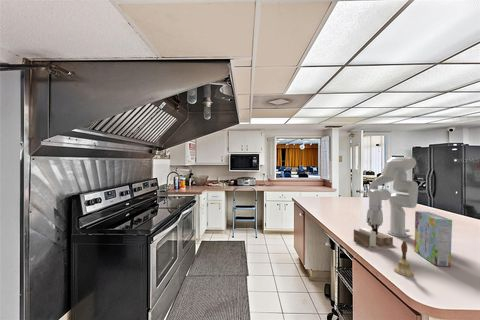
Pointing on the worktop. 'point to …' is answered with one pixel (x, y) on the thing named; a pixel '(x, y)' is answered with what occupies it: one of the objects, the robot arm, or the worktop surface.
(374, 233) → the carton
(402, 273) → the hand bell
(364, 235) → the podium
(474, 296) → the worktop surface
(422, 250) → the snack box
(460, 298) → the worktop surface
